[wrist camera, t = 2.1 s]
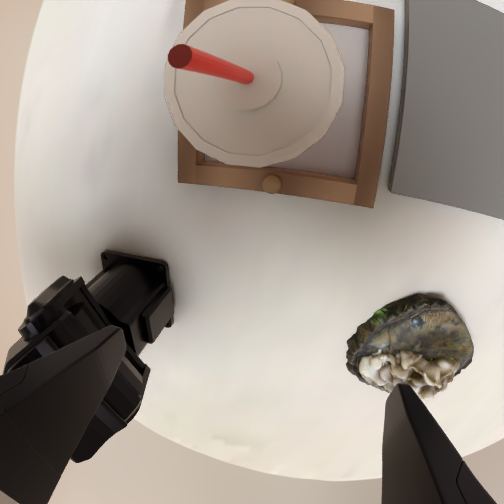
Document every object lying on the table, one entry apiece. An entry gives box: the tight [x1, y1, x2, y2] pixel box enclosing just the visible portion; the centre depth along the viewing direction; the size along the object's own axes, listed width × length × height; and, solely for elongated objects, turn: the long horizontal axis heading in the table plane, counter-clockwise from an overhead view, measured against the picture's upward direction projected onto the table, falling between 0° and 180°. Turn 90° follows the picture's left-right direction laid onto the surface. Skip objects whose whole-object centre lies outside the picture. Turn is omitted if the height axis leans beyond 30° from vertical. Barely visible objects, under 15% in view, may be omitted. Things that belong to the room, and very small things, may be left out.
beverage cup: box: [164, 0, 345, 168], centre depth 11 cm, size 6×6×14 cm
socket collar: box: [178, 0, 394, 208], centre depth 16 cm, size 12×12×2 cm
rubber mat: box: [388, 0, 504, 220], centre depth 13 cm, size 10×14×1 cm
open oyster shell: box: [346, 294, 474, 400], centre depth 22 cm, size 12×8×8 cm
